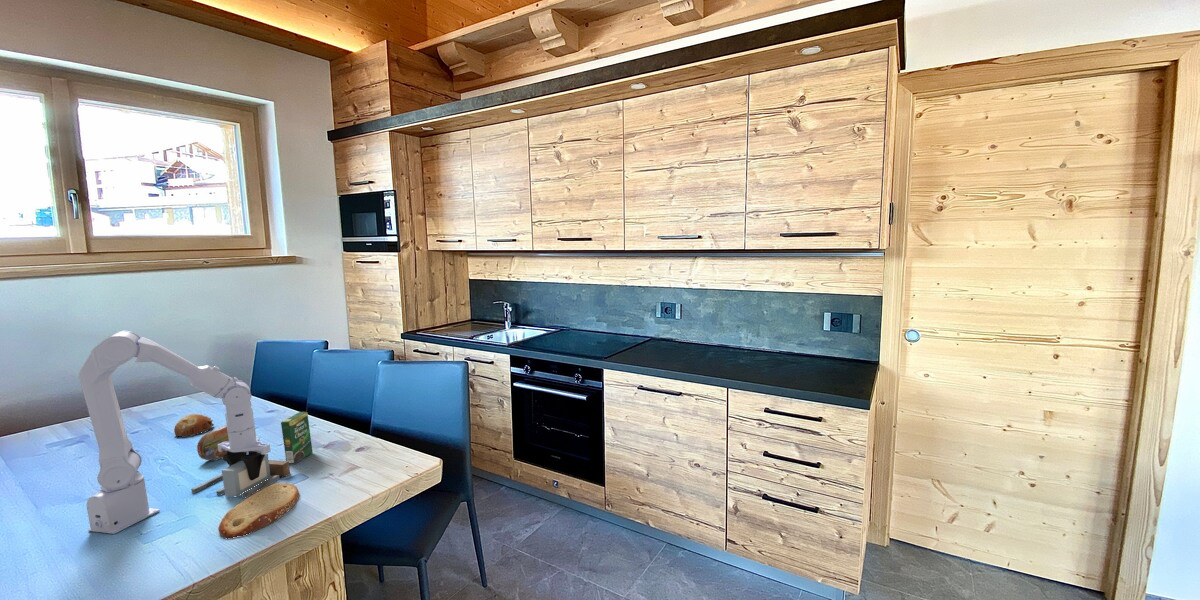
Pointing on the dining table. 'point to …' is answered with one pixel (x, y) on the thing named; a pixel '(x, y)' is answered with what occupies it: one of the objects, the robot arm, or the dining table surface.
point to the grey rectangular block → (243, 477)
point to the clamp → (275, 470)
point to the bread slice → (259, 510)
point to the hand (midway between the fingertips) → (248, 477)
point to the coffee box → (296, 437)
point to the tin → (212, 444)
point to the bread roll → (193, 425)
